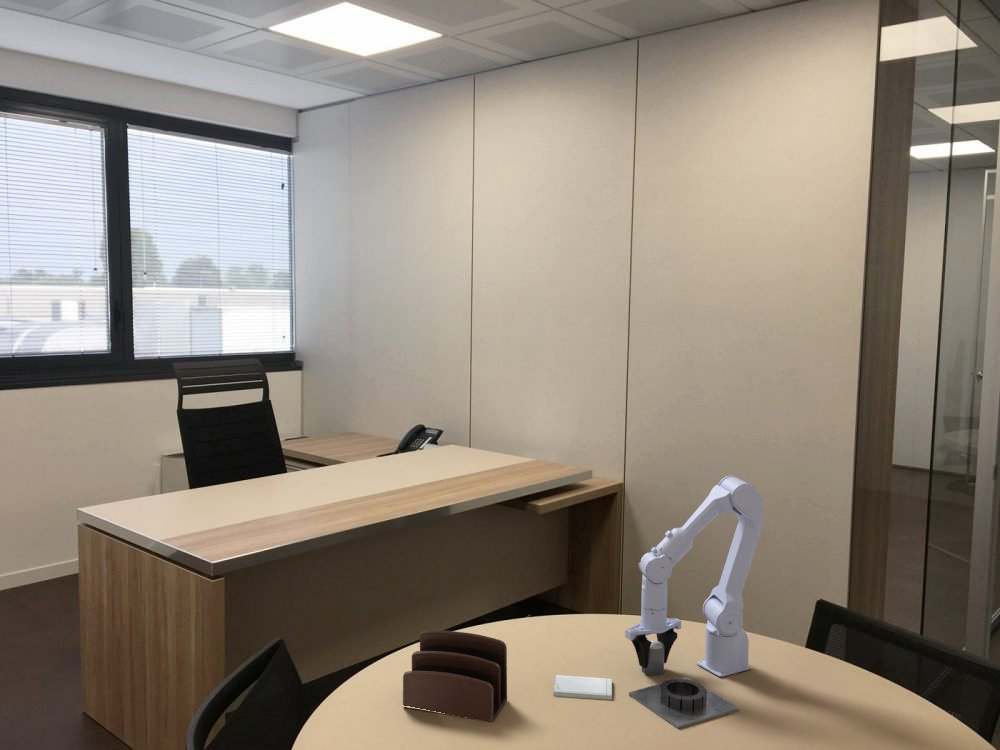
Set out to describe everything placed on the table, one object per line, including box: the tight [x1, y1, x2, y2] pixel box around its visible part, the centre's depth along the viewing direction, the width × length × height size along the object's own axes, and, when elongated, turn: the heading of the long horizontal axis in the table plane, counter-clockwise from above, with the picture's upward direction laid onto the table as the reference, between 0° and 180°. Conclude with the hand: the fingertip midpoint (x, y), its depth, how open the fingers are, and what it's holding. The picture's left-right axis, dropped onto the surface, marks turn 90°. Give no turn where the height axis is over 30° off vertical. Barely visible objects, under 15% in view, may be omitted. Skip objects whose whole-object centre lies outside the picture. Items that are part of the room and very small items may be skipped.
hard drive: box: [552, 674, 613, 700], centre depth 180 cm, size 2×8×12 cm
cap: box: [641, 639, 665, 677], centre depth 189 cm, size 5×5×6 cm
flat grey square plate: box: [628, 676, 740, 730], centre depth 174 cm, size 16×16×3 cm
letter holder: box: [402, 629, 508, 723], centre depth 173 cm, size 10×20×14 cm, turn 72°
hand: (652, 664), depth 189 cm, fingers closed on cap, 5 cm apart
